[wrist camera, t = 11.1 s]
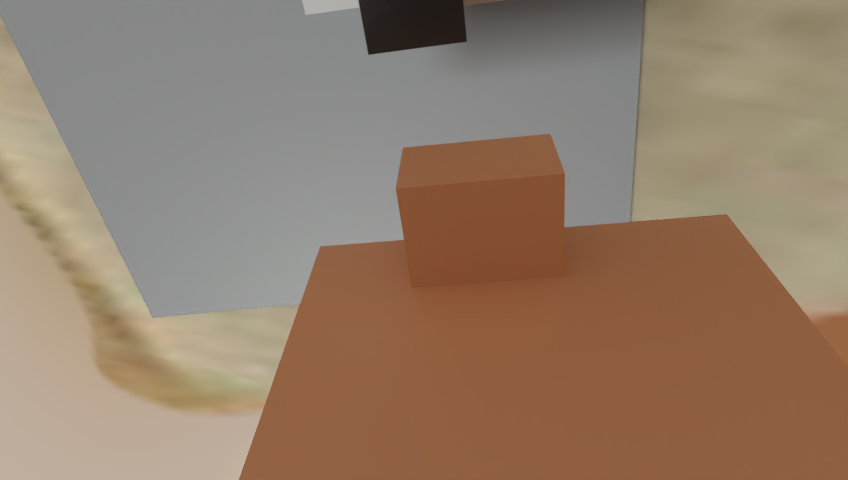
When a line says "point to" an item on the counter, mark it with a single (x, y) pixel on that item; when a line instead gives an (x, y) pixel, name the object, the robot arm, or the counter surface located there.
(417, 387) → the cover
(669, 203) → the counter surface
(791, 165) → the counter surface
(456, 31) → the latch bolt
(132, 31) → the latch plate
